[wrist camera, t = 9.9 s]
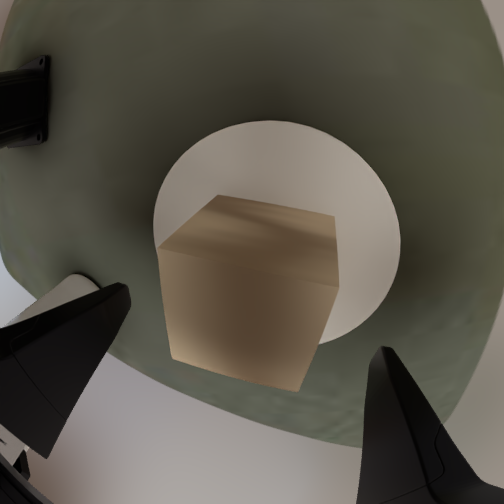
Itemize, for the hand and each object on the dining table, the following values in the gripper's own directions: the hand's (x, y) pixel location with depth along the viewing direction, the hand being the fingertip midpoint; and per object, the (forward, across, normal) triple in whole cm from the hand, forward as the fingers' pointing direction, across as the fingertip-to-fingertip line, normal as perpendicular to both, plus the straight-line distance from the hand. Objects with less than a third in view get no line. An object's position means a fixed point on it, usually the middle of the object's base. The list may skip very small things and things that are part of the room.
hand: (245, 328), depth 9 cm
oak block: (+5, 0, 0) cm, 5 cm away
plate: (+6, 0, 0) cm, 6 cm away
